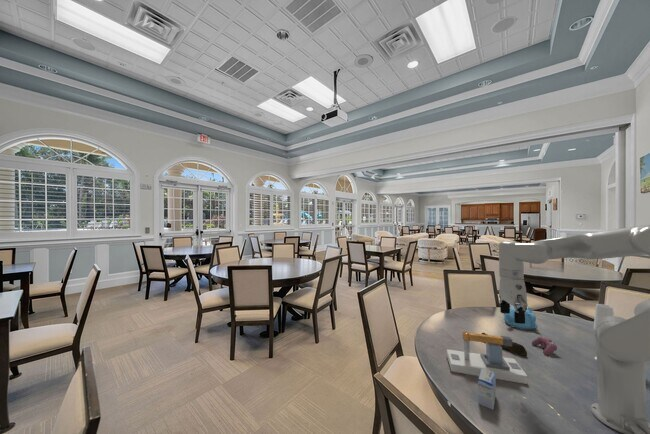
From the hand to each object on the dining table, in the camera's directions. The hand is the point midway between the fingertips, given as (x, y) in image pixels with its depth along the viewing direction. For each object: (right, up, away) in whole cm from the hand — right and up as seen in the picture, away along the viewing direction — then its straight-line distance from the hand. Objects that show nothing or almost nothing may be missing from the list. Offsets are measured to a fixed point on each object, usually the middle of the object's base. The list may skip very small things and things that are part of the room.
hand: (512, 317), depth 93 cm
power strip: (-6, -25, +8) cm, 27 cm away
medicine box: (-16, -25, -10) cm, 31 cm away
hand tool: (+15, -25, +25) cm, 38 cm away
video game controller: (+32, -25, +22) cm, 46 cm away
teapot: (+42, -25, +49) cm, 69 cm away
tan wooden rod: (-5, -13, +8) cm, 16 cm away
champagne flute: (+50, -24, +12) cm, 57 cm away
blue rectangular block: (-2, -22, +7) cm, 23 cm away
